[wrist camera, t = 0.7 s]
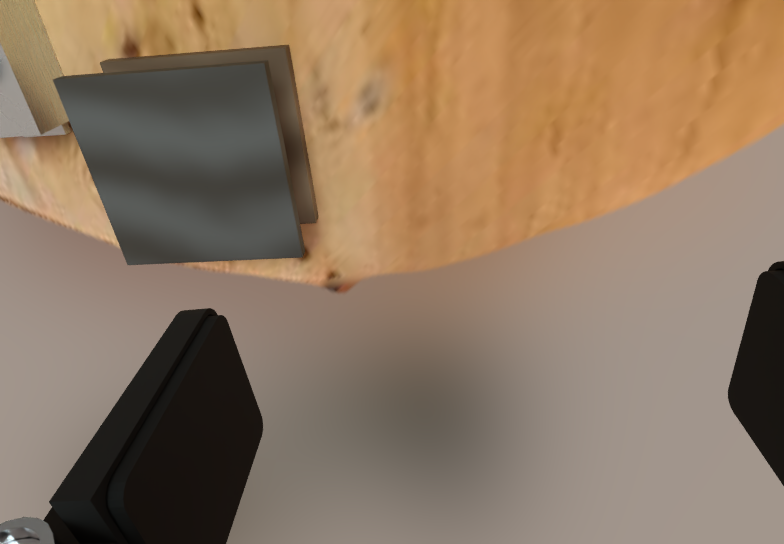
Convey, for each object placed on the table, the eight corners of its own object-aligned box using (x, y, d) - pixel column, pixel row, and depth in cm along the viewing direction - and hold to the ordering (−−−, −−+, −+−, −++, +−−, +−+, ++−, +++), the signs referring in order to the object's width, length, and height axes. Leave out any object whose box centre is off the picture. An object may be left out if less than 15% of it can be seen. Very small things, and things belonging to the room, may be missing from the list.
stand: (107, 59, 40) (52, 79, 34) (288, 44, 38) (264, 63, 32) (165, 224, 47) (127, 265, 41) (318, 216, 46) (302, 257, 40)
